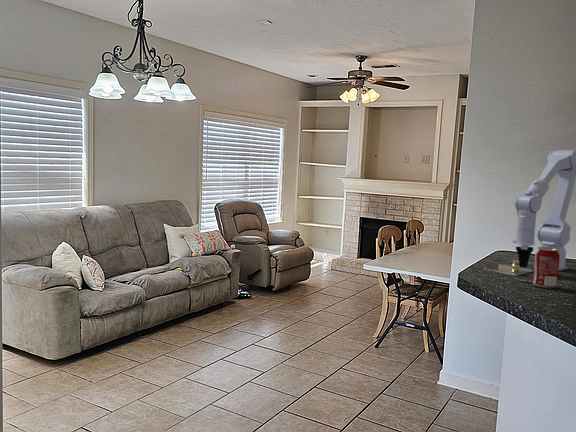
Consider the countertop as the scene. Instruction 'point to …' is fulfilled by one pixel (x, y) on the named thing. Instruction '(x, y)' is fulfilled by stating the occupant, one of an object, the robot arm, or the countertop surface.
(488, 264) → the keeper
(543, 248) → the soda can
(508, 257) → the countertop surface
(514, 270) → the swing bar
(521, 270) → the plate
